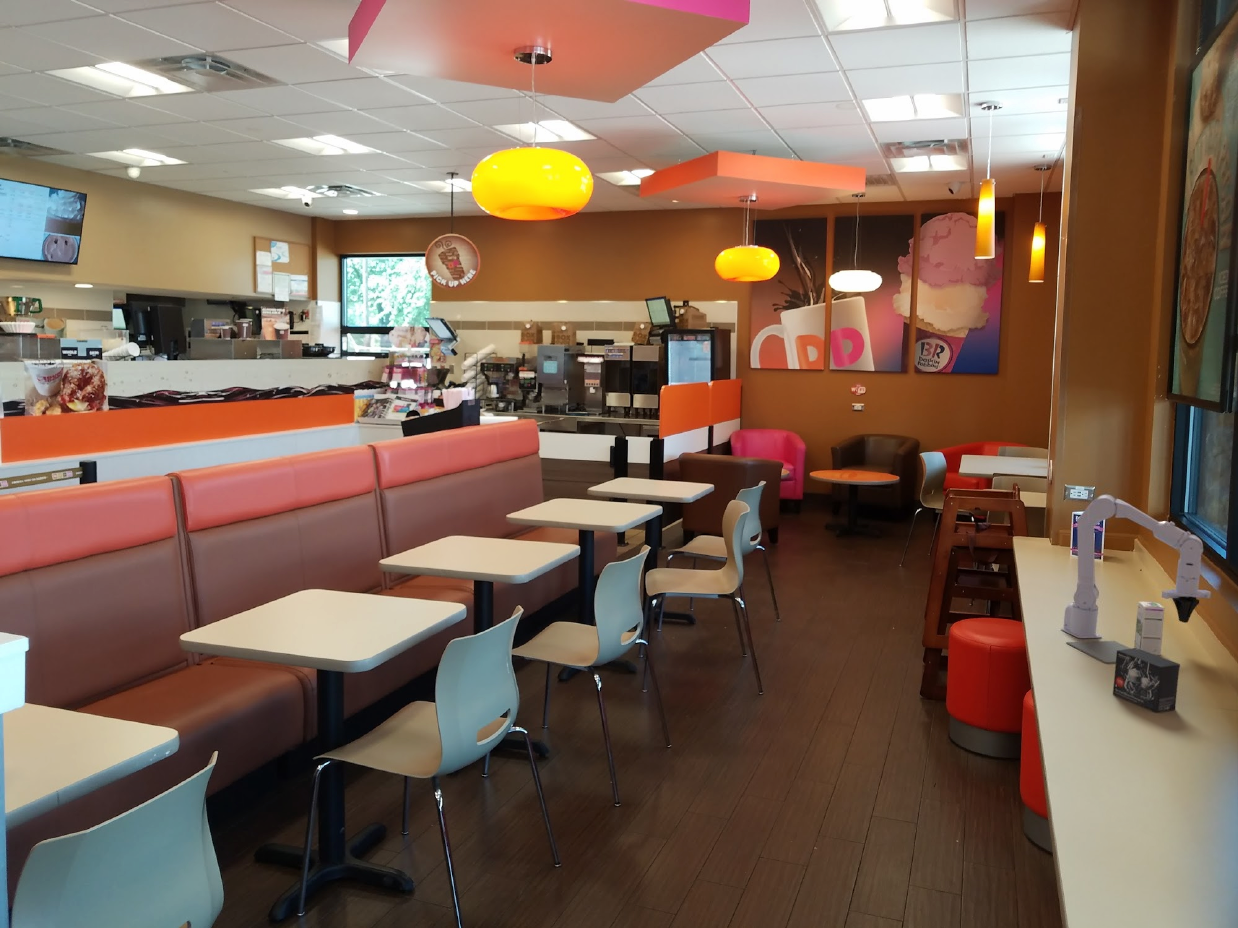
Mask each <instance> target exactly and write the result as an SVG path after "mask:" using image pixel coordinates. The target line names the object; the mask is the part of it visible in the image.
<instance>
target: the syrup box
mask: <svg viewBox="0 0 1238 928" xmlns="http://www.w3.org/2000/svg"><path fill="white" fill-rule="evenodd" d="M1136 612H1137V613H1136V623H1135V625H1136V626H1135V635H1134V644H1133V645H1134V647H1133V648H1138V649H1141V650H1143V651H1146V652H1149V653H1151V654H1154V655H1157V656H1161V652H1162V642H1163V632H1164V631H1163V630H1164V619H1165V618H1164V617H1165V607H1164V606H1163V605H1161V604H1160V603H1159V602H1154V601H1138V602H1137V611H1136Z"/></svg>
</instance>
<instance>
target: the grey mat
mask: <svg viewBox="0 0 1238 928" xmlns="http://www.w3.org/2000/svg"><path fill="white" fill-rule="evenodd" d="M1065 644H1066V645H1068V646H1070V645H1071V646H1070V647H1072V648H1074V647H1075V648H1074V649H1076V650H1078V651H1080V650H1081V651H1080V652H1081V653H1084V652H1085V653H1084V654H1086V655H1088V656H1090V657H1092V658H1094V659H1096V660H1097V661H1100V662H1101V661H1102V663H1103V662H1104V663H1103V664H1105V663H1112V664H1116V655H1117V650H1123V649H1131V648H1132V647H1128V646H1126V645H1124V644H1122V643H1120V642H1118V641H1116V640H1097V641H1096V640H1095V641H1093V640H1092V641H1066V642H1065Z"/></svg>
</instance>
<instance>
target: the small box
mask: <svg viewBox="0 0 1238 928" xmlns="http://www.w3.org/2000/svg"><path fill="white" fill-rule="evenodd" d="M1130 648H1131V649H1123V650H1117V655H1116V663H1115V667H1114V669H1115V670H1114V679H1113V689H1112V695H1113V696H1116V697H1119V698H1121V699H1123V700H1125V701H1128V702H1131V703H1132V704H1135V705H1137V706H1139V707H1142V708H1144V709H1146V710H1149V711H1151V712H1153V713H1156V714H1157V713H1164V712H1169V711H1170V712H1171V711H1175V710H1176V703H1177V701H1176V700H1177V695H1178V694H1177V692H1178V682H1179V675H1180V674H1179V673H1180V667H1181V664H1180V663H1178V662H1175V661H1173V660H1170V659H1167V658H1165V657H1161V656H1160V655H1154V654H1151V653H1149V652H1146V651H1143V650H1141V649H1138V648H1134V647H1130Z"/></svg>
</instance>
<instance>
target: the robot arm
mask: <svg viewBox="0 0 1238 928" xmlns="http://www.w3.org/2000/svg"><path fill="white" fill-rule="evenodd" d="M1114 515H1115V517H1114V518H1117V519H1119V518H1126V519H1129V520H1131V521H1133V522H1134V523H1136V524H1138V525H1141V526H1142V527H1144V528H1145V529H1148V530H1150V531H1152V533H1153V537H1154V538H1156V539H1157V540H1158V541H1161V542H1162V543H1164V544H1166V545H1168V546H1170V547H1172V548H1173V549H1176V550H1177V549H1178V550H1179V551H1180V553H1179V559H1178V560H1177V561H1178V563H1177V572H1176V580H1175V588H1174V589H1168V590H1162V591H1161V598H1162V599H1166V600H1167V599H1168V600H1169V599H1171V600H1172V601H1173V604H1174V606H1175V608H1176V612H1177V616H1178V621H1179V622H1182V623H1185V624H1186V623H1188V622H1189V620H1190V618H1191V616H1192V613H1193V612H1194V610H1195V609H1196V608H1197V606H1198V605H1199V604H1200V600H1199V599H1200V598H1201V599H1203V598H1204V599H1211V595H1212V592H1211V591H1209V590H1205V589H1199V585H1200V577H1201V576H1200V575H1201V569H1202V567H1201V566H1202V563H1201V561H1202V554H1203V552H1204V545H1203V541H1202V540H1201V539H1200V538H1199V537H1198V536H1197V535H1195V534H1191V532H1190V531H1189V530H1188V531H1185V530H1183V529H1181V528H1179V527H1177V526H1176V523H1175V522H1174V521H1170V522H1169V521H1166V520H1164V521H1158V520H1156V519H1155V518H1153V517H1151V516H1150V515H1149V514H1146V513H1144V512H1143V511H1141V510H1139V509H1138V508H1137V507H1134V506H1133V505H1131V504H1130V503H1128V502H1125V501H1124V500H1123V499H1119V498H1115V497H1114V496H1113V495H1110V494H1101V495H1099V496H1098V497H1096V498H1095V499H1093V500H1092V501H1091V502H1090V504H1089V505H1088V506H1087V507H1086V508H1085V510H1084V511H1083V512H1082V513H1081V514H1080V516H1079V517H1078V519H1077V521H1076V522H1077V527H1076V528H1077V581H1076V590H1075V592H1074V594H1073V601H1074V602H1072V603H1071V602H1070V603H1068V604H1067V606H1066V607H1065V610H1064V617H1063V627H1060V630H1062V631H1063V632H1065V633H1067V634H1069V635H1072V636H1074V637H1076V638H1077V639H1095V638H1096V639H1101V638H1103V636H1102V635H1101V634H1098V633H1097V624H1098V614H1099V606H1098V604H1097V600H1098V598H1099V596H1100V595H1099V594H1100V592H1099V589H1098V587H1097V584H1096V577H1095V574H1096V573H1095V565H1096V564H1095V526H1097V525H1098V524H1099V523H1100V522H1102V521H1105V520H1107V519H1110V518H1111V517H1113V516H1114ZM1198 598H1199V599H1198Z"/></svg>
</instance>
